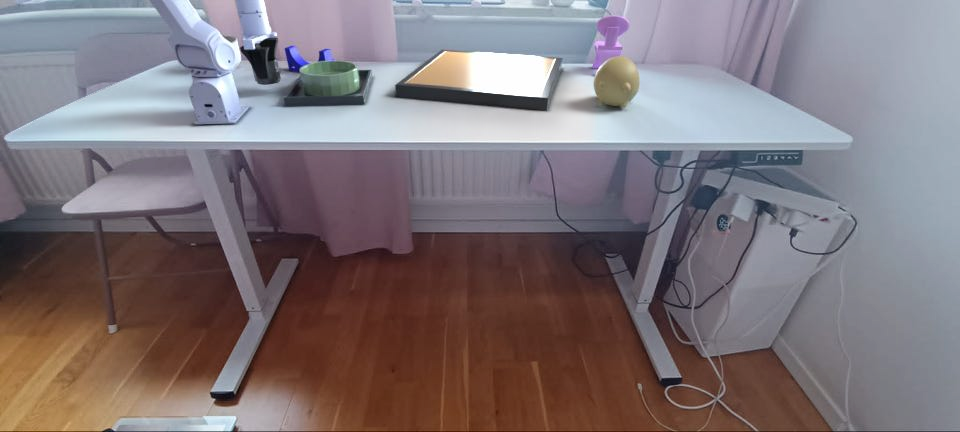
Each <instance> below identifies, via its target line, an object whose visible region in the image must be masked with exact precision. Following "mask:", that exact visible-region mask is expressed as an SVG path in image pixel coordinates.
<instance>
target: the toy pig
mask: <svg viewBox="0 0 960 432" xmlns="http://www.w3.org/2000/svg"><path fill="white" fill-rule="evenodd" d="M597 69H598V68H597ZM596 71H597V70H596ZM595 73H596V72H595ZM640 82H641V81H640V73H639V70H638V68H637V66H636V65H635V63H634V61H632V60H631V59H630V58H629V57H627V56H622V55H620V56H617V57H613V58H611V59H609V60H607V61H606V62H605V63H603V64H602V65H601V67H600V68H599V69H598V71H597V73H596V75H595V74H594V78H593V90H594V94H595V95H596V97H597V104H598V105H603V104H605V105H606V106H611V107H619V106H620V108H622V109H625V108H626V107H628V103H630V102H631V101H632V100H633V99H634V98H635V96H636V95H637V93H638V92H639V90H640Z"/></svg>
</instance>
